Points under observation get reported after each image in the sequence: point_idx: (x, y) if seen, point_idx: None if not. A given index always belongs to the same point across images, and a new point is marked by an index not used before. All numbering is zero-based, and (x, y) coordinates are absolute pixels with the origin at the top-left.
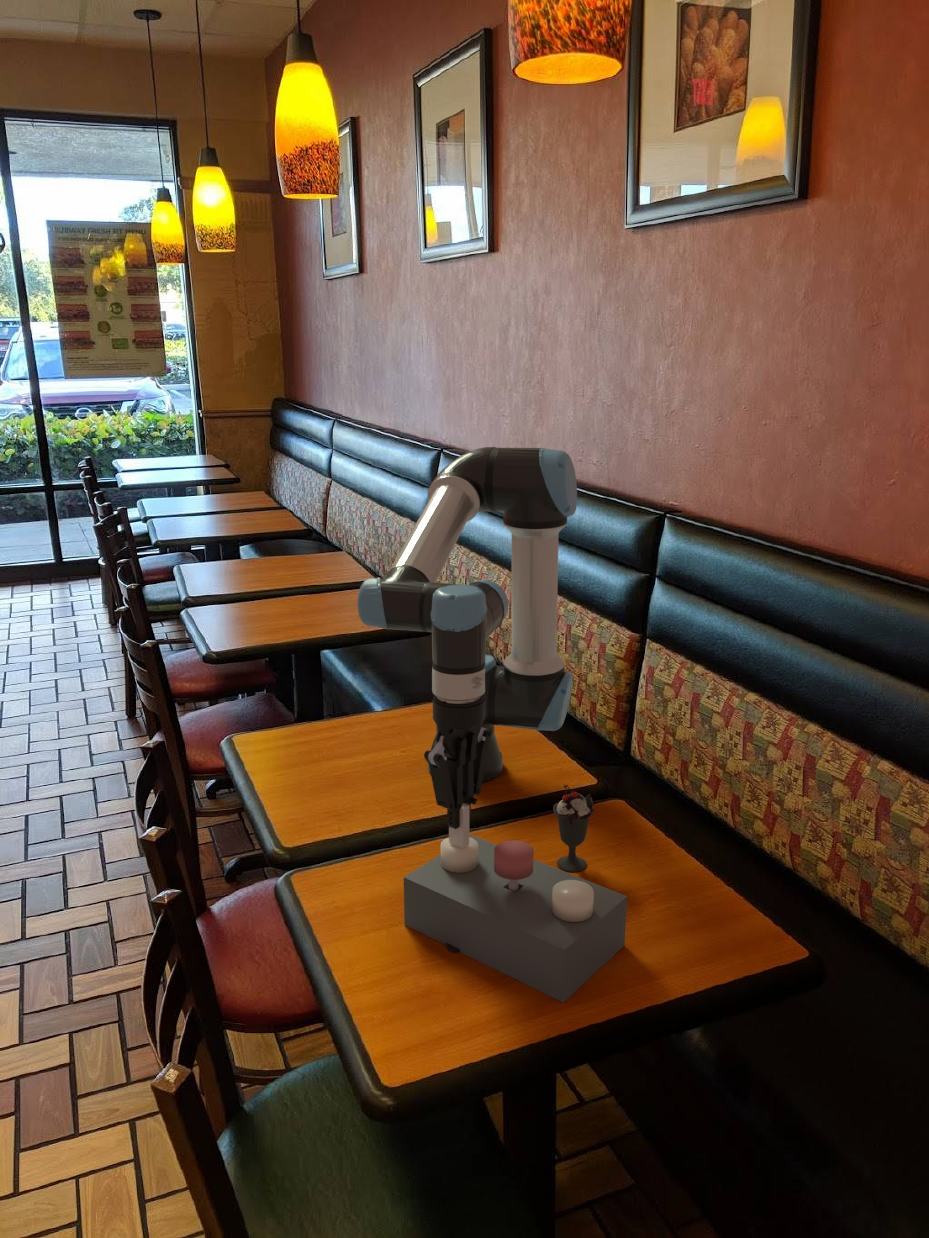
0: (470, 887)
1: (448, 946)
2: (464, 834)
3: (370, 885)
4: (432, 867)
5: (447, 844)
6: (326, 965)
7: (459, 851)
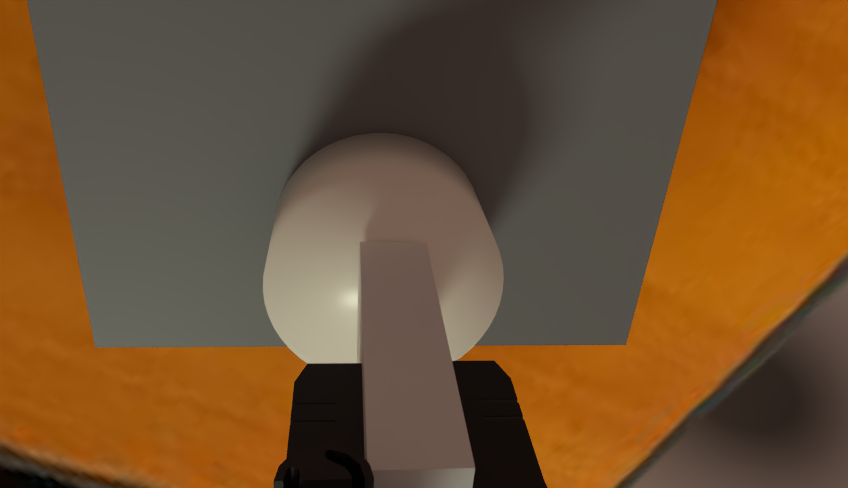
0: (555, 36)
1: None
2: (422, 296)
3: None
4: None
5: None
6: (839, 272)
7: (454, 243)
